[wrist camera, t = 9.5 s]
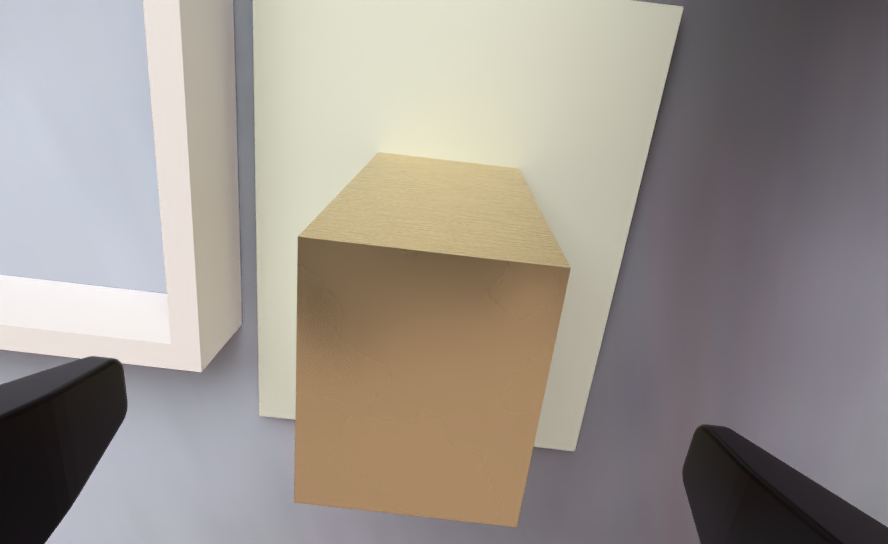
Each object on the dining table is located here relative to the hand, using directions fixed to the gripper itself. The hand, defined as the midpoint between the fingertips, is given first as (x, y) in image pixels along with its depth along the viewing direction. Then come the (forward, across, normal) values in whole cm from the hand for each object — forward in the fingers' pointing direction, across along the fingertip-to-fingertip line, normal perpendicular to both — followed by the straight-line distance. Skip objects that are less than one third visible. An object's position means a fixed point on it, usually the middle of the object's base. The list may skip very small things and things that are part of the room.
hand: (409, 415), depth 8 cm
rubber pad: (+9, 0, 0) cm, 9 cm away
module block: (+8, 0, 0) cm, 8 cm away
